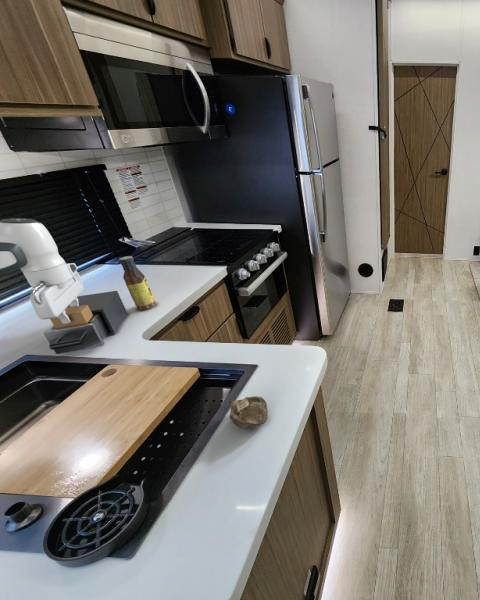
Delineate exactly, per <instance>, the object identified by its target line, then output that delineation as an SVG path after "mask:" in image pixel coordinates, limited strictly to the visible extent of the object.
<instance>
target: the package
mask: <svg viewBox="0 0 480 600" xmlns="http://www.w3.org/2000/svg"><path fill="white" fill-rule="evenodd" d="M65 314H66V315H67V316H70V317H71V319H72V321H71V322H70V323H67V324H63V323H62V322H61V320H60V319H59V318H57V317H56V318H51V319H49V320H50V322H51V323H52V326H54V327H55V328H56V329H58V328H63V327H69V326H75V325H81V324H87V323H88V322H89V320H90V319H91V318H92V317H93V314H92V312H91V310H90V309H89V307H88V305H83V306H77V307H70V308H66V309H65Z"/></svg>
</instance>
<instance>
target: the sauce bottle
mask: <svg viewBox="0 0 480 600" xmlns="http://www.w3.org/2000/svg"><path fill="white" fill-rule="evenodd" d="M118 261H119V263H120V265H121V267H122V269H123V271H124V272H123V281H124V282H125V286H126V288H127V290H128V292H129V294H130V296H131V299H132V301H133V303H134V305H135V306H136V308H137V310H140V311H144V310H148V309H152V308H154V307H155V306H156V305H157V304H156V299H155V297H154V295H153V292H152V290H151V287H150V285H149V283H148V280H147V278H146V276H145V274H144V273H143V272H142V271H141V270H140V269H139V268H138V267H137V265H136V263H135V259H134V257H133V255H127V256H123V257H119V258H118Z"/></svg>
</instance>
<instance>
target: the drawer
mask: <svg viewBox="0 0 480 600" xmlns="http://www.w3.org/2000/svg"><path fill="white" fill-rule="evenodd" d="M92 314H93V317H92V318H91V319H90V320H89V322H88V323H87V324H81V325H75V326H69V327H63V328H58V329H56V328H55V327H54V325H52V327H50V330H49V329H47V330H44V331H43V332H42V334H43V335H44V337H45V339H46V341H47V342H48V344H49V346H48V347H49V350H53V351H54V353H55V355H61V354H66V353H72V352H77V351H84V350H88V349H93V348H98V347H103V346H104V345H105V341H104V340H105V338H106V337H107V336H108V335H107V334H108V332H109V331H110V329H109V327H108V325H107V323H106V321H105V319H104V317H103V315H102V313H101V312H95V313H92ZM106 335H107V336H106Z"/></svg>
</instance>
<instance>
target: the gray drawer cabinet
mask: <svg viewBox="0 0 480 600" xmlns="http://www.w3.org/2000/svg"><path fill="white" fill-rule="evenodd" d="M77 298H78V303H79V306H83V305H88V307H89V309H90V310H91V312H92V313H95V312H101V313H102V315H103V317H104V319H105V321H106V323H107V325H108V327H109V329H110V331H109V332H108V334H107V335H106V337H107V336H112V335H116V333H117V332H118V330H119V328H120V327H121V325H122V324H123V322H124V321H125V319H126V318H127V316H128V311H127V308H126V307H125V304H124V302H123V300H122V298H121V296H120V294H119V292H118V290H112V291H105V292H104V291H103V292H97V293H91V294H84V295H78V296H77ZM67 308H70V305H69V306H68V307H67Z"/></svg>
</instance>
